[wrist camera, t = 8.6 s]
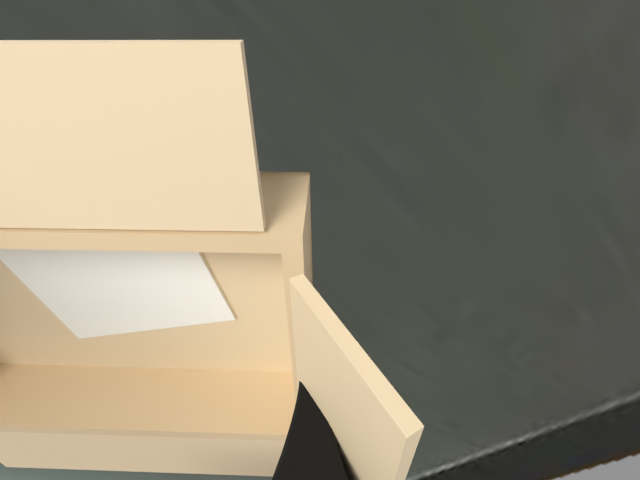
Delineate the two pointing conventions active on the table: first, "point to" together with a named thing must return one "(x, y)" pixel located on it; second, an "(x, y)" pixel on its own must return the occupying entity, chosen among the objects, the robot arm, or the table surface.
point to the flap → (351, 391)
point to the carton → (143, 261)
